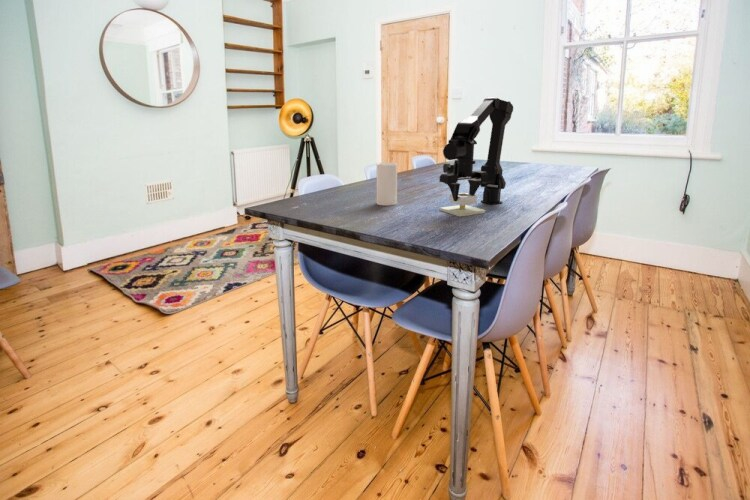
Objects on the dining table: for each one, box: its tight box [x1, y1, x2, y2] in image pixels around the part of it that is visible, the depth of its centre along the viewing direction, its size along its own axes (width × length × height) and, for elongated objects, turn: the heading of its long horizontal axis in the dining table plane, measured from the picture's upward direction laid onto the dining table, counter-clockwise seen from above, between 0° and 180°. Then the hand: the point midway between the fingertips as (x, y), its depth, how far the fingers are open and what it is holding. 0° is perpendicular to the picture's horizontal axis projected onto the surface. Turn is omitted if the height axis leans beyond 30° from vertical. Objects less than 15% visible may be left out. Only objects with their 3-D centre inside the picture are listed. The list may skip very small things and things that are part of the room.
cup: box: [376, 162, 398, 206], centre depth 184 cm, size 8×8×16 cm
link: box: [449, 192, 478, 206], centre depth 170 cm, size 7×7×3 cm
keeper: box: [439, 204, 486, 218], centre depth 171 cm, size 12×12×5 cm
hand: (462, 200), depth 170 cm, fingers closed on link, 7 cm apart
